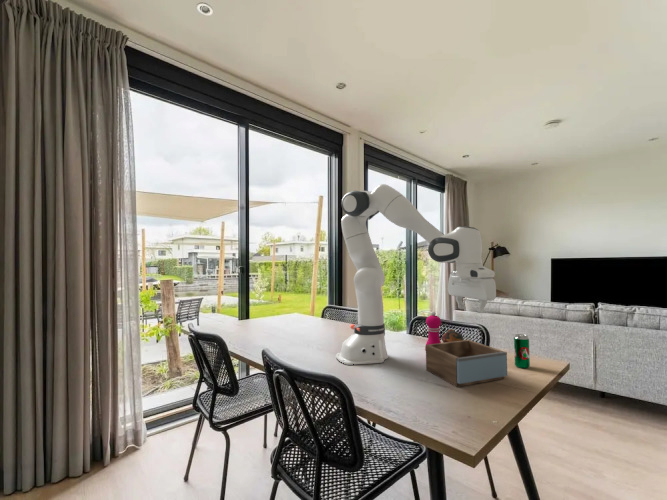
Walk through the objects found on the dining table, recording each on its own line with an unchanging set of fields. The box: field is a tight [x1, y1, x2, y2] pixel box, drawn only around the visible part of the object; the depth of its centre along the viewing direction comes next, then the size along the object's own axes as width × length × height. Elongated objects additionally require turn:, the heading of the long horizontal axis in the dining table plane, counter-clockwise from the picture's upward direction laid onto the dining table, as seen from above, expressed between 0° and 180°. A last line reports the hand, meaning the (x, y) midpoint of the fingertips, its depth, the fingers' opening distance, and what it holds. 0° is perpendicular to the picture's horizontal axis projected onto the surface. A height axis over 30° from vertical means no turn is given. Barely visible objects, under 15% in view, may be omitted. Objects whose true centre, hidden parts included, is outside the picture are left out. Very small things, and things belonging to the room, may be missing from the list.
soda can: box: [513, 333, 531, 370], centre depth 125 cm, size 5×5×12 cm
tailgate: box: [456, 350, 508, 384], centre depth 109 cm, size 20×1×8 cm, turn 109°
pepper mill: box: [424, 311, 442, 352], centre depth 134 cm, size 7×7×20 cm
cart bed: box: [425, 339, 505, 388], centre depth 118 cm, size 20×17×10 cm
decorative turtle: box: [441, 328, 465, 343], centre depth 151 cm, size 10×15×8 cm, turn 170°
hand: (470, 310), depth 115 cm, fingers open, 8 cm apart
